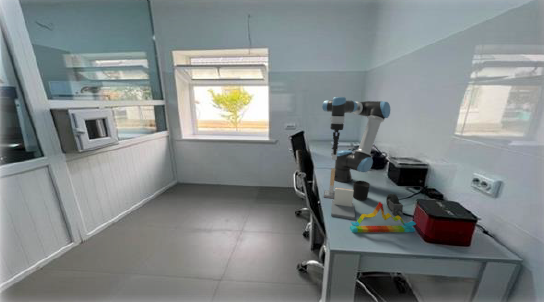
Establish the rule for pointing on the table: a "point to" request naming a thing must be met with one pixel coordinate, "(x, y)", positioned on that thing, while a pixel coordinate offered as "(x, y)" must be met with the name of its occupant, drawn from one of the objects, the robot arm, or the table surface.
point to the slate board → (343, 211)
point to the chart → (401, 228)
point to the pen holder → (360, 190)
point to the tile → (343, 197)
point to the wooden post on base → (331, 185)
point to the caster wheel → (394, 204)
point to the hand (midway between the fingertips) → (334, 156)
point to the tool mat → (327, 196)
